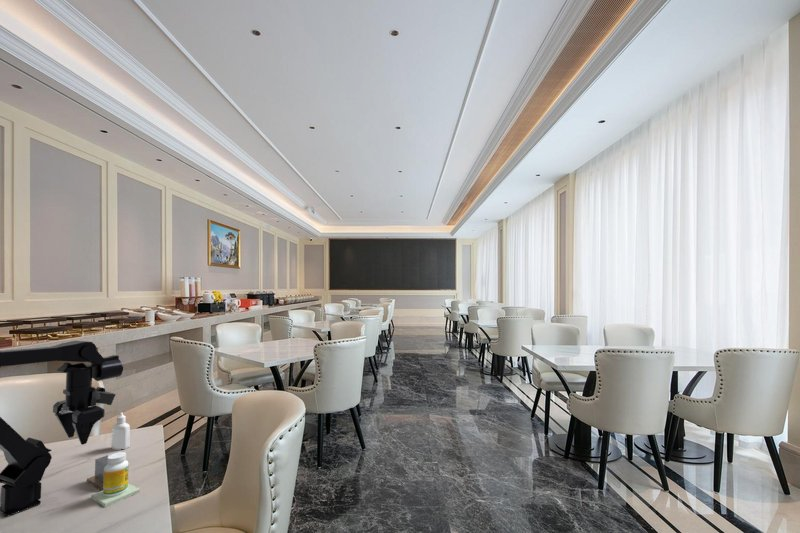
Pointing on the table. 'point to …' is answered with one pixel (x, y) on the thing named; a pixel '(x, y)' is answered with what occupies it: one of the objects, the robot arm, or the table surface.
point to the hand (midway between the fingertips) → (77, 440)
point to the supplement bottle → (115, 475)
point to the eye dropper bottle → (121, 433)
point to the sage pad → (110, 500)
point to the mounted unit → (98, 473)
